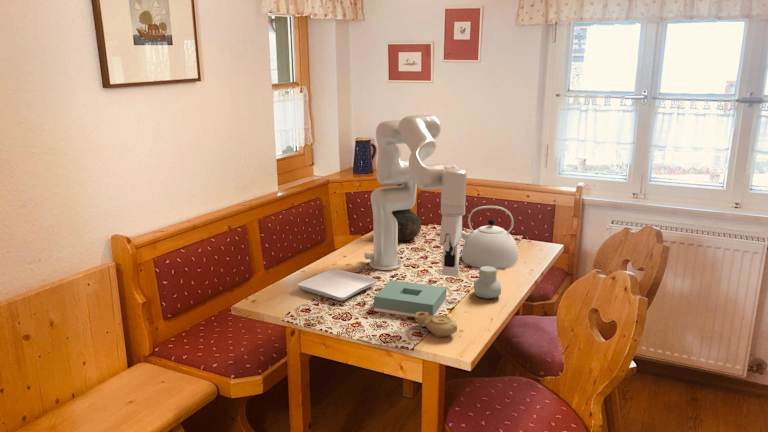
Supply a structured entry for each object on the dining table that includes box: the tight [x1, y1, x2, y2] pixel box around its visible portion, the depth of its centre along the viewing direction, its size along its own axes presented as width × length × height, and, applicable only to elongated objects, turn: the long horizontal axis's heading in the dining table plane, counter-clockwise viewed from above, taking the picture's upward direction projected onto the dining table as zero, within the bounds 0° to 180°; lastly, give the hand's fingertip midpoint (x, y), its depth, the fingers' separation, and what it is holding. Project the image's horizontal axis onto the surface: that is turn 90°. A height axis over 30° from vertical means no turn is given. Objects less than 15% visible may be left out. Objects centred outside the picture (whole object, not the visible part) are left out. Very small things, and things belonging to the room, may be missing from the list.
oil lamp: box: [414, 312, 458, 338], centre depth 190 cm, size 11×14×5 cm
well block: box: [373, 279, 447, 318], centre depth 209 cm, size 20×16×5 cm
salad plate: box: [296, 268, 378, 302], centre depth 223 cm, size 21×21×3 cm
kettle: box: [461, 205, 519, 269], centre depth 253 cm, size 25×23×23 cm
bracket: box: [441, 243, 461, 278], centre depth 198 cm, size 4×3×10 cm, turn 69°
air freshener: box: [473, 266, 502, 299], centre depth 217 cm, size 11×8×10 cm
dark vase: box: [392, 184, 422, 242], centre depth 280 cm, size 18×18×28 cm
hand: (450, 264), depth 199 cm, fingers closed on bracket, 3 cm apart
